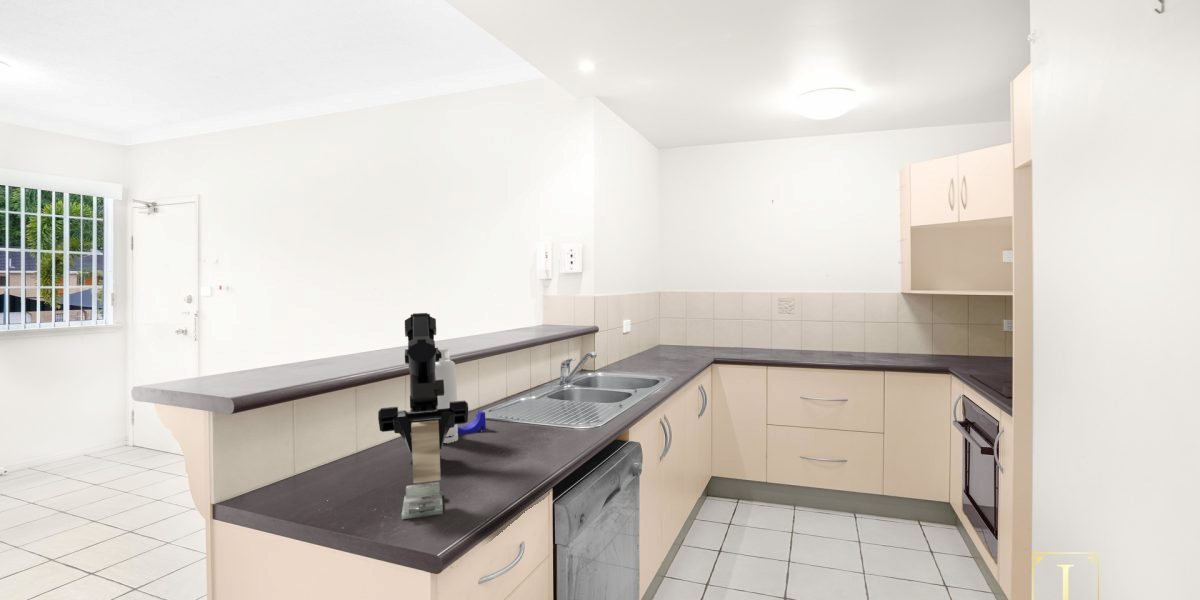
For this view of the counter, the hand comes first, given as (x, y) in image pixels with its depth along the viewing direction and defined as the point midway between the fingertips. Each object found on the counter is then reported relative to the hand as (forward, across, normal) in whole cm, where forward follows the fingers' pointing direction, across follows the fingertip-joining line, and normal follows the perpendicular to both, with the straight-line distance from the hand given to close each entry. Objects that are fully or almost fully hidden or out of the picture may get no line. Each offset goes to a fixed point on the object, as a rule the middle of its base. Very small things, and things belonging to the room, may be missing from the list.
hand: (425, 450), depth 117 cm
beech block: (+4, 0, +6) cm, 7 cm away
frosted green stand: (+8, -1, +10) cm, 12 cm away
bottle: (-28, +6, +46) cm, 54 cm away
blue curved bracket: (-33, +13, +52) cm, 62 cm away
